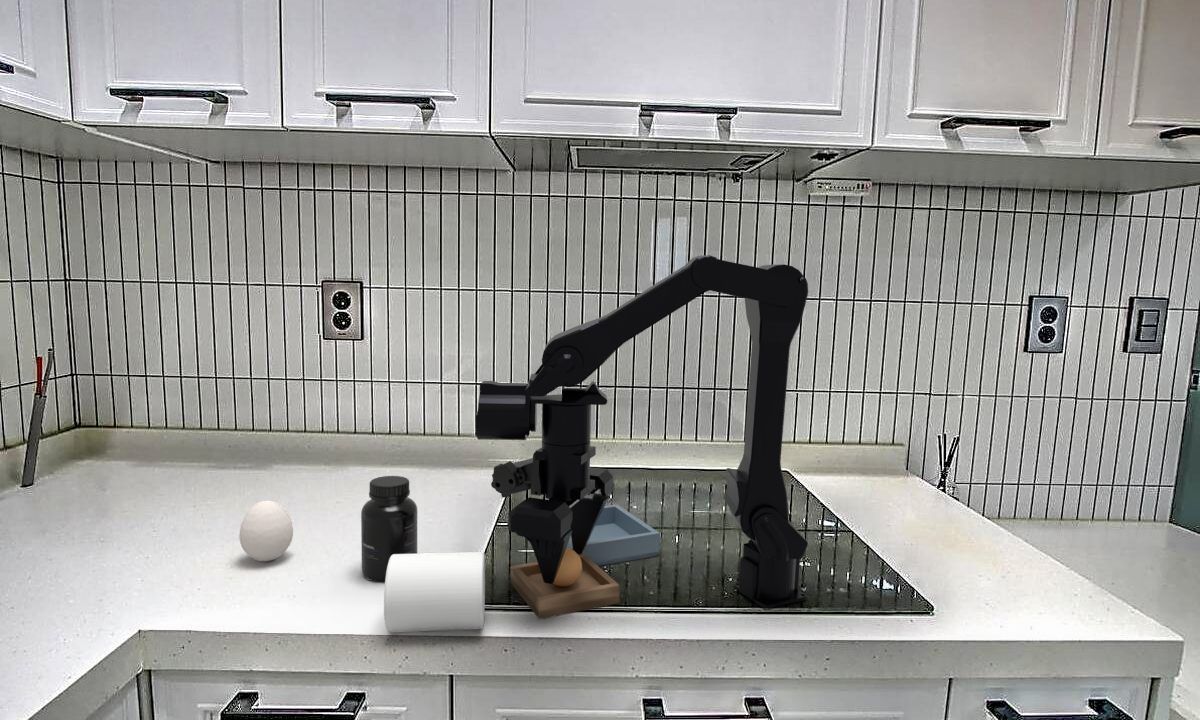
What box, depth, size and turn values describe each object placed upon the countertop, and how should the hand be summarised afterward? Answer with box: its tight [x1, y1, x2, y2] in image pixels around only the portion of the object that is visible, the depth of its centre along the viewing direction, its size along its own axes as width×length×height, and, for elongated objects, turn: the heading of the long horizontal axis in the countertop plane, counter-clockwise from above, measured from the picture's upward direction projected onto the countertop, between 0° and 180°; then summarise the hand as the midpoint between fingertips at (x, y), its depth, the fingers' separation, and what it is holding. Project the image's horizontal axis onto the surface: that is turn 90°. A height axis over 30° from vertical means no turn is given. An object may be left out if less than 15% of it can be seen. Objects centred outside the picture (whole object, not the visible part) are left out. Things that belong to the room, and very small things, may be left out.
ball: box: [553, 548, 582, 587], centre depth 86 cm, size 4×4×4 cm
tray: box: [510, 554, 621, 620], centre depth 87 cm, size 10×10×2 cm
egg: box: [239, 500, 294, 562], centre depth 94 cm, size 6×6×8 cm
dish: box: [566, 503, 661, 567], centre depth 102 cm, size 13×13×3 cm
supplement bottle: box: [360, 475, 418, 583], centre depth 91 cm, size 7×7×12 cm
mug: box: [383, 551, 486, 633], centre depth 80 cm, size 12×10×8 cm
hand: (564, 567), depth 86 cm, fingers open, 9 cm apart
